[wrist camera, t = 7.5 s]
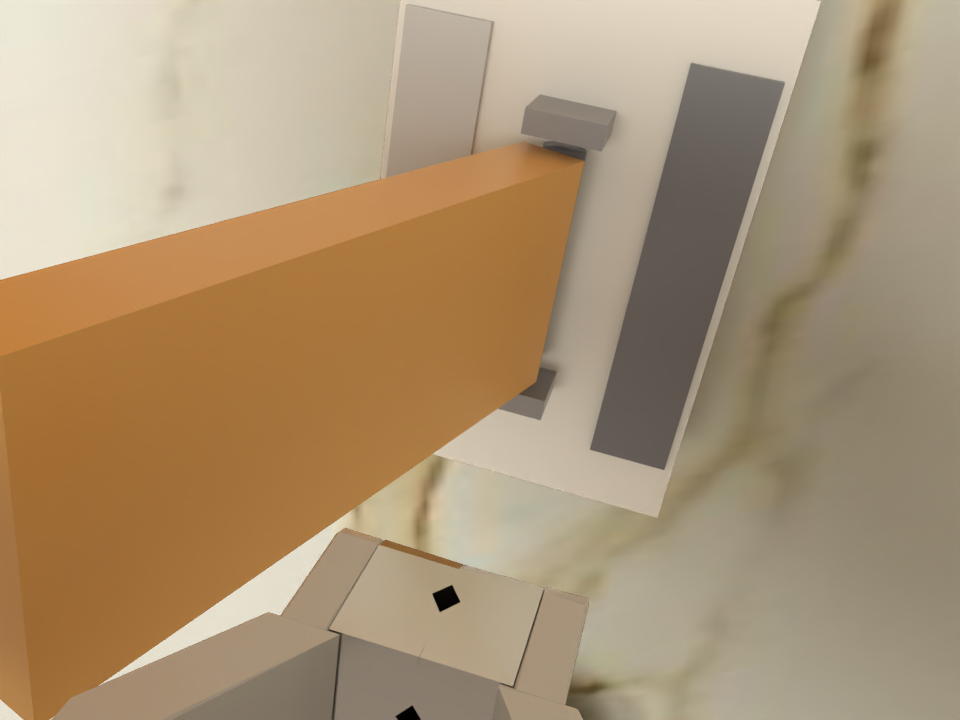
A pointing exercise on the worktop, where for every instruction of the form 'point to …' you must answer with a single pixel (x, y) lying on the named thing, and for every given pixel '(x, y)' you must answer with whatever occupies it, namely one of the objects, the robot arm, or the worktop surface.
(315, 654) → the robot arm
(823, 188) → the worktop surface
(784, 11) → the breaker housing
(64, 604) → the lever
